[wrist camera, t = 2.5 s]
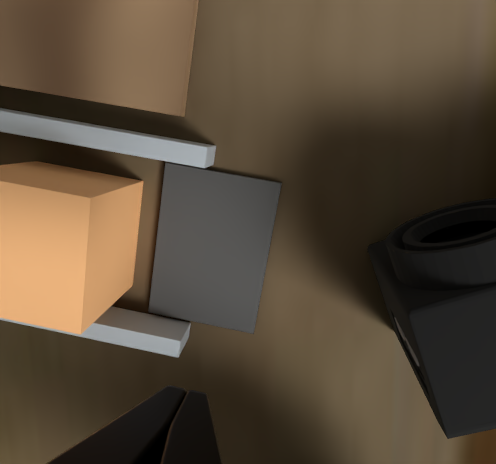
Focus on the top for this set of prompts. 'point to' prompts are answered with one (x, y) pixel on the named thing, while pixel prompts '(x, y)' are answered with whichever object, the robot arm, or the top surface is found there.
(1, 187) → the block
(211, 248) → the mat
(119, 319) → the channel
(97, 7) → the coaster
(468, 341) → the digital camera
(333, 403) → the top surface
